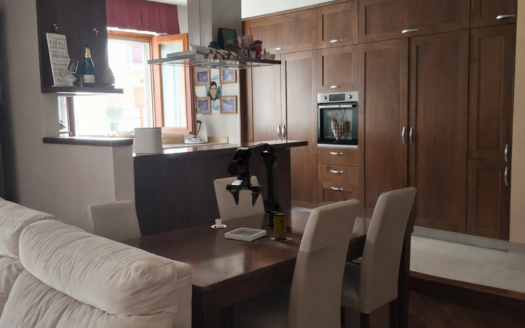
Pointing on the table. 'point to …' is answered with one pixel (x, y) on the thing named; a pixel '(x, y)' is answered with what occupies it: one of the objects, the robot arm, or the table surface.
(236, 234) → the tray
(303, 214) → the table surface
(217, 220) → the white ring with post
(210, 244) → the table surface
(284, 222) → the condiment
